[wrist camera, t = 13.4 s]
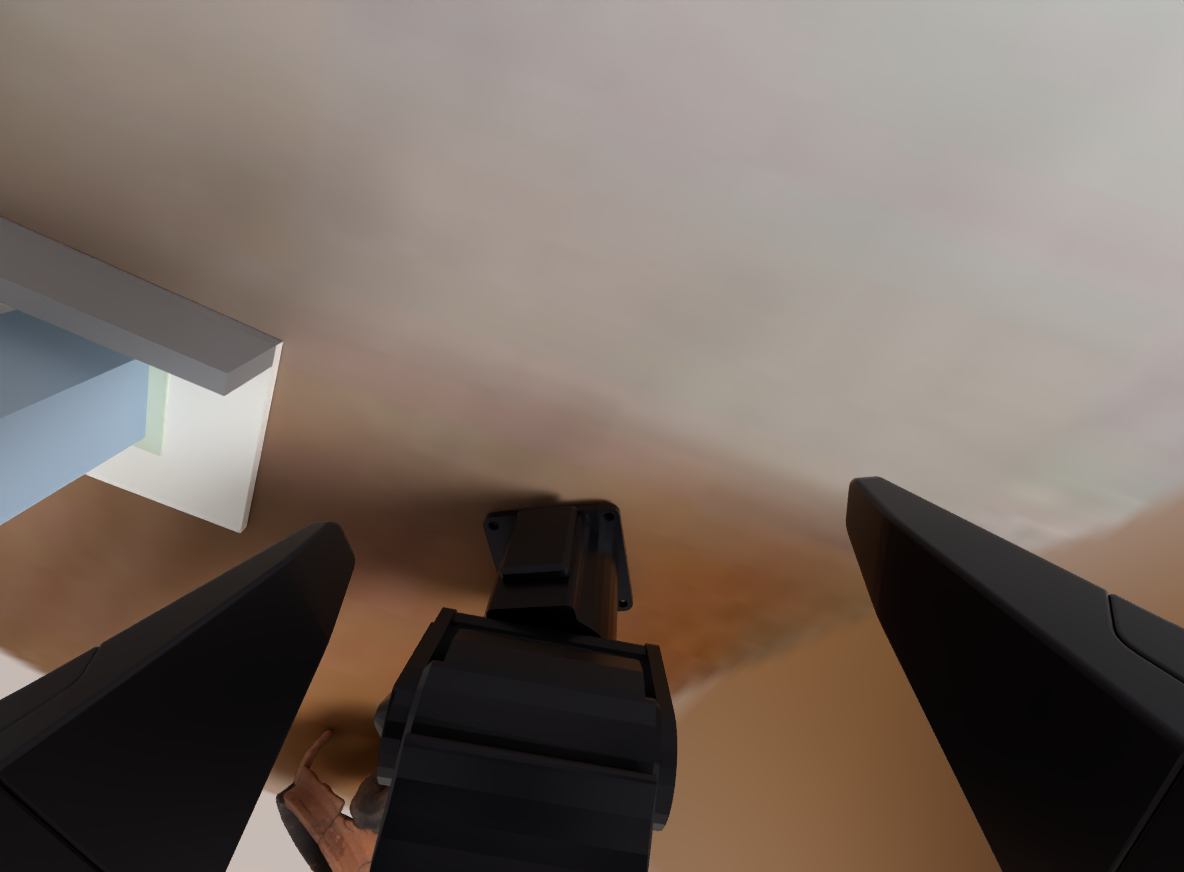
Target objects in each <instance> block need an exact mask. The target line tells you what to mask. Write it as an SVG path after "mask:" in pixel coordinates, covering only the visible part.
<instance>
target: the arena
mask: <svg viewBox="0 0 1184 872" xmlns="http://www.w3.org/2000/svg"><path fill="white" fill-rule="evenodd" d="M13 310H19V311H21V312H24V313H26V314H29V315H31V316H33V317H36V318H38V319H41V320H43V321H45V322H48V323H50V324H53V325H55V326H57V327H60V328H62V329H64V330H67V331H69V332H72V333H74V334H76V335H79V336H81V337H84V338H86V339H88V340H91V341H93V342H96V343H98V344H100V345H103V346H105V347H108V348H110V349H112V350H115V351H117V352H119V353H122V354H124V355H127V356H129V357H131V358H134V359H136V360H139V361H141V362H143V363H146V364H148V365H149V380H148V397H147V414H146V431H145V438H143V439H141V440H140V441H138V442H137V443H135V444H133V445H132V446H130V447H128V448H127V449H125V450H123V451H122V452H120V453H118V454H117V455H115V456H113V457H112V458H110V459H109V460H107V461H105V462H104V463H102V464H100V465H99V466H97V467H95V468H94V469H92V470H90V471H89V472H87V473H86V474H85V475H88V476H91V477H93V478H96V479H99V480H101V481H104V482H106V483H109V484H112V485H114V486H117V487H120V488H122V489H125V490H127V491H130V492H133V493H135V494H138V495H141V496H143V497H146V498H149V499H151V500H154V501H156V502H159V503H162V504H164V505H167V506H170V507H172V508H175V509H177V510H180V511H183V512H185V513H188V514H191V515H193V516H196V517H199V518H201V519H204V520H206V521H209V522H212V523H214V524H217V525H220V526H222V527H225V528H227V529H230V530H233V531H235V532H238V533H241V532H242V531H243V530H244V529H245V528H246V527H247V522H248V517H249V512H250V507H251V502H252V497H253V492H254V487H255V482H256V477H257V472H258V467H259V461H260V456H261V451H262V446H263V441H264V436H265V431H266V426H267V421H268V416H269V411H270V406H271V401H272V396H273V391H274V386H275V381H276V376H277V370H278V365H279V360H280V355H281V350H282V345H283V341H281V340H279V339H276V338H274V337H272V336H270V335H267V334H265V333H263V332H260V331H258V330H256V329H254V328H251V327H249V326H247V325H245V324H242V323H240V322H238V321H236V320H233V319H231V318H229V317H226V316H224V315H222V314H220V313H217V312H215V311H213V310H211V309H208V308H206V307H204V306H202V305H199V304H197V303H195V302H192V301H190V300H188V299H186V298H183V297H181V296H179V295H177V294H174V293H172V292H170V291H168V290H165V289H163V288H161V287H158V286H156V285H154V284H152V283H149V282H147V281H145V280H143V279H140V278H138V277H136V276H134V275H131V274H129V273H127V272H125V271H122V270H120V269H118V268H115V267H113V266H111V265H109V264H106V263H104V262H102V261H100V260H97V259H95V258H93V257H91V256H88V255H86V254H84V253H81V252H79V251H77V250H75V249H72V248H70V247H68V246H66V245H63V244H61V243H59V242H57V241H54V240H52V239H50V238H47V237H45V236H43V235H41V234H38V233H36V232H34V231H32V230H29V229H27V228H25V227H23V226H20V225H18V224H16V223H14V222H11V221H9V220H7V219H4V218H2V217H0V314H2V313H6V312H10V311H13Z"/></svg>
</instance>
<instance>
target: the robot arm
mask: <svg viewBox="0 0 1184 872" xmlns="http://www.w3.org/2000/svg"><path fill="white" fill-rule="evenodd" d="M605 513H612V514H613V516H606V515H605ZM491 522H496V523H498V525H494V524H492V523H491ZM483 526H484V530H485V533H486V537H487V540H488V543H489V547H490V550H491V553H492V557H493V560H494V563H495V567H496V570H497V576H496V580H495V583H494V586H493V589H492V592H491V596H490V599H489V602H488V605H487V608H486V612H485V615H484V617H480V616H475V615H469V614H464V613H458V612H457V610H456V609H450V608H445V607H443V608H442V610H441V611H440V613H439V615H438V617H437V618H436V620H435V622H431V624H430V625H429V627H428V629H427V630H426V632H425V634H424V636H423V637H422V639H421V641H420V642H419V644H418V646H417V647H416V649H415V651H414V652H413V654H412V656H411V657H410V659H409V661H408V663H407V664H406V666H405V668H404V669H403V671H402V673H401V674H400V676H399V678H398V679H397V681H396V683H395V685H394V687H393V690H392V692H391V693H390V694H389V695H388V696H387V697H386V698H385V699H384V700H383V701H382V702H381V703H380V705H379V707H378V709H377V711H376V714H375V718H374V725H375V727H376V729H377V731H378V733H379V735H380V738H381V740H380V748H379V749H380V752H379V759H378V766H377V779H378V783H379V784H381V785H387V786H390V788H389V792H388V796H387V800H386V804H385V808H384V812H383V816H382V820H381V824H380V828H379V832H378V836H377V840H376V844H375V848H374V852H373V856H372V860H371V865H370V872H648V868H649V858H650V849H651V839H652V831H653V830H654V831H662V829H663V828H664V827H665V825H666V822H667V820H668V817H669V814H670V810H671V805H672V800H673V794H674V787H675V779H676V768H677V729H676V720H675V714H674V709H673V705H672V700H671V696H670V691H669V687H668V682H667V678H666V674H665V669H664V665H663V660H662V656H661V652H660V647H659V645H653V644H647V643H645V646H644V645H638V644H633V643H627V642H621V641H616V636H617V611H626V610H629V609H631V607H632V605H633V596H632V589H631V583H630V576H629V569H628V562H627V556H626V549H625V542H624V535H623V529H622V522H621V515H620V510H619V508H618V507H617V506H616V505H614V504H611V503H604V504H592V505H579V506H571V505H569V506H556V507H544V508H531V509H521V510H516V511H504V512H493V513H489V514H488V515H487V516H486V518H485V520H484V523H483ZM846 527H847V532H848V535H849V538H850V541H851V544H852V547H853V550H854V553H855V555H856V558H857V561H858V564H859V567H860V570H861V573H862V576H863V578H864V581H865V584H866V587H867V590H868V593H869V596H870V598H871V601H872V604H873V607H874V609H875V612H876V614H877V617H878V619H879V621H880V623H881V625H882V628H883V630H884V632H885V634H886V636H887V638H888V640H889V642H890V644H891V646H892V648H893V650H894V652H895V654H896V656H897V658H898V660H899V662H900V664H901V666H902V668H903V670H904V672H905V675H906V677H907V679H908V681H909V683H910V685H911V687H912V689H913V691H914V693H915V695H916V697H917V699H918V701H919V703H920V705H921V707H922V709H923V711H924V713H925V715H926V717H927V719H928V721H929V723H930V725H931V728H932V729H933V732H934V733H935V736H936V738H937V739H938V742H939V744H940V746H941V748H942V750H943V752H944V754H945V756H946V758H947V760H948V762H949V764H950V766H951V768H952V770H953V772H954V774H955V776H956V778H957V780H958V782H959V785H960V787H961V789H962V790H963V793H964V795H965V797H966V799H967V801H968V803H969V805H970V807H971V809H972V811H973V813H974V815H975V817H976V819H977V821H978V823H979V825H980V827H981V829H982V831H983V833H984V835H985V837H986V840H987V841H988V844H989V845H990V848H991V850H992V852H993V854H994V855H995V858H996V860H997V862H998V864H999V866H1000V868H1001V870H1002V872H1184V628H1182V627H1180V626H1178V625H1176V624H1174V623H1172V622H1169V621H1168V620H1166V619H1164V618H1162V617H1160V616H1157V615H1155V614H1153V613H1151V612H1149V611H1147V610H1145V609H1143V608H1141V607H1139V606H1137V605H1135V604H1133V603H1131V602H1129V601H1127V600H1125V599H1123V598H1121V597H1119V596H1117V595H1115V594H1110V595H1109V596H1108V592H1107V591H1106V590H1105V589H1103V588H1101V587H1099V586H1097V585H1095V584H1093V583H1091V582H1089V581H1087V580H1085V579H1083V578H1081V577H1079V576H1077V575H1075V574H1073V573H1071V572H1069V571H1067V570H1065V569H1063V568H1061V567H1059V566H1057V565H1055V564H1053V563H1051V562H1049V561H1047V560H1045V559H1043V558H1041V557H1039V556H1037V555H1035V554H1033V553H1031V552H1029V551H1027V550H1025V549H1023V548H1021V547H1019V546H1017V545H1015V544H1013V543H1011V542H1009V541H1007V540H1005V539H1003V538H1001V537H999V536H997V535H995V534H993V533H991V532H989V531H987V530H985V529H983V528H981V527H979V526H977V525H975V524H973V523H971V522H969V521H967V520H965V519H963V518H961V517H959V516H957V515H955V514H953V513H951V512H949V511H947V510H945V509H943V508H941V507H939V506H937V505H935V504H933V503H931V502H929V501H927V500H925V499H923V498H921V497H919V496H917V495H915V494H913V493H911V492H909V491H907V490H905V489H903V488H901V487H899V486H897V485H895V484H893V483H891V482H889V481H887V480H885V479H883V478H881V477H876V476H875V477H863V478H854V479H853V480H852V481H851V483H850V485H849V492H848V503H847V513H846ZM354 564H355V558H354V554H353V551H352V549H351V547H350V545H349V543H348V540H347V538H346V536H345V534H344V532H343V530H342V527H341V526H340V524H339V523H338V522H336V521H333V520H331V521H318V522H313V523H311V524H309V525H307V526H305V527H303V528H302V529H300V530H298V531H297V532H295V533H293V534H291V535H290V536H288V537H286V538H284V539H283V540H281V541H279V542H277V543H276V544H274V545H272V546H270V547H269V548H267V549H265V550H263V551H262V552H260V553H258V554H256V555H255V556H253V557H251V558H249V559H248V560H246V561H244V562H242V563H241V564H239V565H237V566H236V567H234V568H232V569H230V570H229V571H227V572H225V573H223V574H222V575H220V576H218V577H216V578H215V579H213V580H211V581H209V582H208V583H206V584H204V585H202V586H201V587H199V588H197V589H195V590H194V591H192V592H190V593H188V594H187V595H185V596H183V597H181V598H180V599H178V600H176V601H175V602H173V603H171V604H169V605H168V606H166V607H164V608H162V609H161V610H159V611H157V612H155V613H154V614H152V615H150V616H148V617H147V618H145V619H143V620H141V621H140V622H138V623H136V624H134V625H133V626H131V627H129V628H127V629H126V630H124V631H122V632H120V633H119V634H117V635H115V636H114V637H112V638H110V639H108V640H107V641H105V642H103V643H102V644H101V645H100V647H94V648H92V649H91V650H89V651H87V652H85V653H84V654H82V655H80V656H78V657H77V658H75V659H73V660H71V661H70V662H68V663H66V664H64V665H63V666H61V667H59V668H57V669H56V670H54V671H52V672H50V673H48V674H47V675H45V676H43V677H41V678H39V679H38V680H36V681H34V682H32V683H31V684H29V685H27V686H25V687H23V688H22V689H20V690H18V691H16V692H14V693H12V694H10V695H9V696H7V697H5V698H3V699H1V700H0V872H226V869H227V867H228V865H229V862H230V860H231V858H232V856H233V854H234V852H235V849H236V847H237V845H238V843H239V841H240V838H241V836H242V834H243V832H244V829H245V827H246V825H247V823H248V820H249V818H250V816H251V814H252V812H253V810H254V807H255V805H256V803H257V801H258V798H259V796H260V794H261V792H262V790H263V787H264V785H265V783H266V781H267V779H268V776H269V774H270V772H271V770H272V767H273V765H274V763H275V761H276V759H277V756H278V754H279V752H280V750H281V747H282V745H283V743H284V741H285V739H286V736H287V734H288V732H289V730H290V728H291V725H292V723H293V721H294V719H295V716H296V714H297V712H298V710H299V708H300V705H301V703H302V701H303V699H304V697H305V694H306V692H307V690H308V688H309V685H310V683H311V681H312V679H313V677H314V674H315V672H316V670H317V668H318V666H319V663H320V661H321V659H322V657H323V654H324V652H325V650H326V647H327V645H328V643H329V640H330V637H331V634H332V632H333V629H334V626H335V623H336V620H337V617H338V614H339V611H340V608H341V605H342V602H343V599H344V596H345V593H346V590H347V587H348V584H349V581H350V578H351V575H352V572H353V569H354ZM621 600H625V601H624V602H622V601H621Z"/></svg>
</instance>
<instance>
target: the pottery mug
mask: <svg viewBox="0 0 1184 872" xmlns="http://www.w3.org/2000/svg"><path fill="white" fill-rule="evenodd" d="M331 735H332V734H331V730H328V731H325V732H324V733H323V734H322V735H321V737H320V738H318V739H317V740H316V741H315V742H314V744H313V746H312V747H310V748H309V749H308V750H307V751H306V753H305V756H304V758H303V759H302V761H301V763H300V765H299V767H298V769H297V772H296V776H295V779H294V782H293V783H292V784H291V785H290V786H289V787H287V788H286V789H285V790H283V791H282V792H281V793H279V794H277V796H276V803H277V806H278V809H279V812H280V815H281V819H282V821H283V823H284V825H285V827H286V829H287V831H288V833H289V835H290V836H291V838H292V840H293V842H294V843H295V846H296V847H297V848H298V850H299V852H300V853H301V854H302V856H303V857H304V859H305V861H306V862H307V864H308V865H309V866H310V868H311V870H312V871H314V872H370V865H371V860H372V856H373V852H374V848H375V844H376V840H377V836H378V832H379V828H380V824H381V820H382V816H383V812H384V808H385V804H386V800H387V796H388V792H389V788H390V786H387V785H381V784H379V783H378V779H377V769H376V770H375V771H374V773H373V774H372V775H371V776H370V777H368V778H366V779H365V780H364V781H363V782H362V783H361V785H360V786H359V789H358V791H357V793H356V795H355V796H354V798H353V799H352V801H351V804H350V813H351V815H352V817H353V818H351V817H349V816H347V815H344V814H342V813H341V811H342V809H343V806H344V804H345V801H344V800H343V799H342V798H340V797H339V796H338V795H336V794H335V793H334V792H333V791H332V789H331V787H330V786H328V785H327V784H326V783H322V782H321V781H319V779H318V777H317V775H316V773H315V772H313V771H312V770H310V766H311V764H312V761H313V759H314V757H315V756H316V754H317V753H318V751H319V750H320V749H321V748H322V746H323V745H324V744H325V743H326V742H327V741H328V740H329V739H330V738H331Z"/></svg>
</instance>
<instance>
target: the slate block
mask: <svg viewBox="0 0 1184 872" xmlns="http://www.w3.org/2000/svg"><path fill="white" fill-rule="evenodd" d="M148 380H149V365H148V364H146V363H143V362H141V361H139V360H136V359H134V358H131V357H129V356H127V355H124V354H122V353H119V352H117V351H115V350H112V349H110V348H108V347H105V346H103V345H100V344H98V343H96V342H93V341H91V340H88V339H86V338H84V337H81V336H79V335H76V334H74V333H72V332H69V331H67V330H64V329H62V328H60V327H57V326H55V325H53V324H50V323H48V322H45V321H43V320H41V319H38V318H36V317H33V316H31V315H29V314H26V313H24V312H21V311H19V310H13V311H10V312H6V313H2V314H0V525H2V524H3V523H5V522H7V521H8V520H10V519H12V518H13V517H15V516H16V515H18V514H20V513H21V512H23V511H25V510H26V509H28V508H30V507H31V506H33V505H35V504H36V503H38V502H39V501H41V500H43V499H44V498H46V497H48V496H49V495H51V494H53V493H54V492H56V491H58V490H59V489H61V488H63V487H64V486H66V485H67V484H69V483H71V482H72V481H74V480H76V479H77V478H79V477H81V476H82V475H84V474H86V473H87V472H89V471H90V470H92V469H94V468H95V467H97V466H99V465H100V464H102V463H104V462H105V461H107V460H109V459H110V458H112V457H113V456H115V455H117V454H118V453H120V452H122V451H123V450H125V449H127V448H128V447H130V446H132V445H133V444H135V443H137V442H138V441H140V440H141V439H143V438H145V431H146V414H147V397H148Z"/></svg>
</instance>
